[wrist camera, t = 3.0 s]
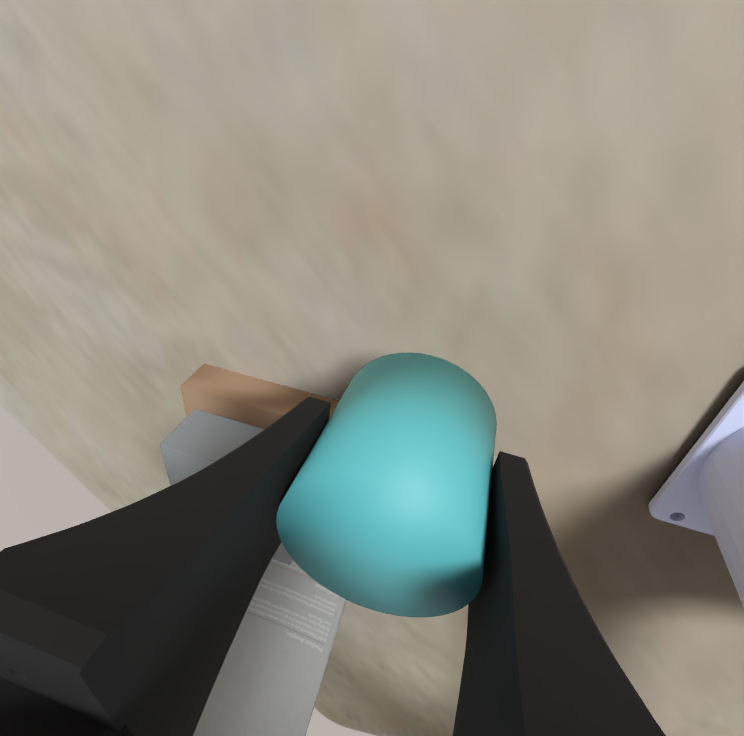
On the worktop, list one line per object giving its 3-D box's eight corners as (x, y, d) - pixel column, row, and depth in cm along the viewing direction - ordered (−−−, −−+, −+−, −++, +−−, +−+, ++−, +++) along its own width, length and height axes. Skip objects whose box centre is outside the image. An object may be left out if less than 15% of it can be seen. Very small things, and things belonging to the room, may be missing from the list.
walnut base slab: (361, 398, 21) (343, 433, 19) (348, 503, 26) (333, 539, 24) (211, 357, 22) (180, 385, 20) (225, 464, 27) (201, 495, 25)
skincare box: (235, 572, 33) (56, 882, 20) (245, 520, 29) (23, 874, 16) (338, 619, 32) (219, 968, 20) (364, 574, 28) (232, 984, 15)
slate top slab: (312, 443, 20) (288, 484, 18) (310, 522, 23) (290, 565, 21) (195, 408, 21) (159, 444, 19) (210, 489, 24) (182, 527, 22)
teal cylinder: (517, 377, 11) (512, 525, 7) (474, 490, 14) (454, 640, 10) (352, 335, 12) (274, 450, 8) (340, 449, 14) (277, 575, 11)
